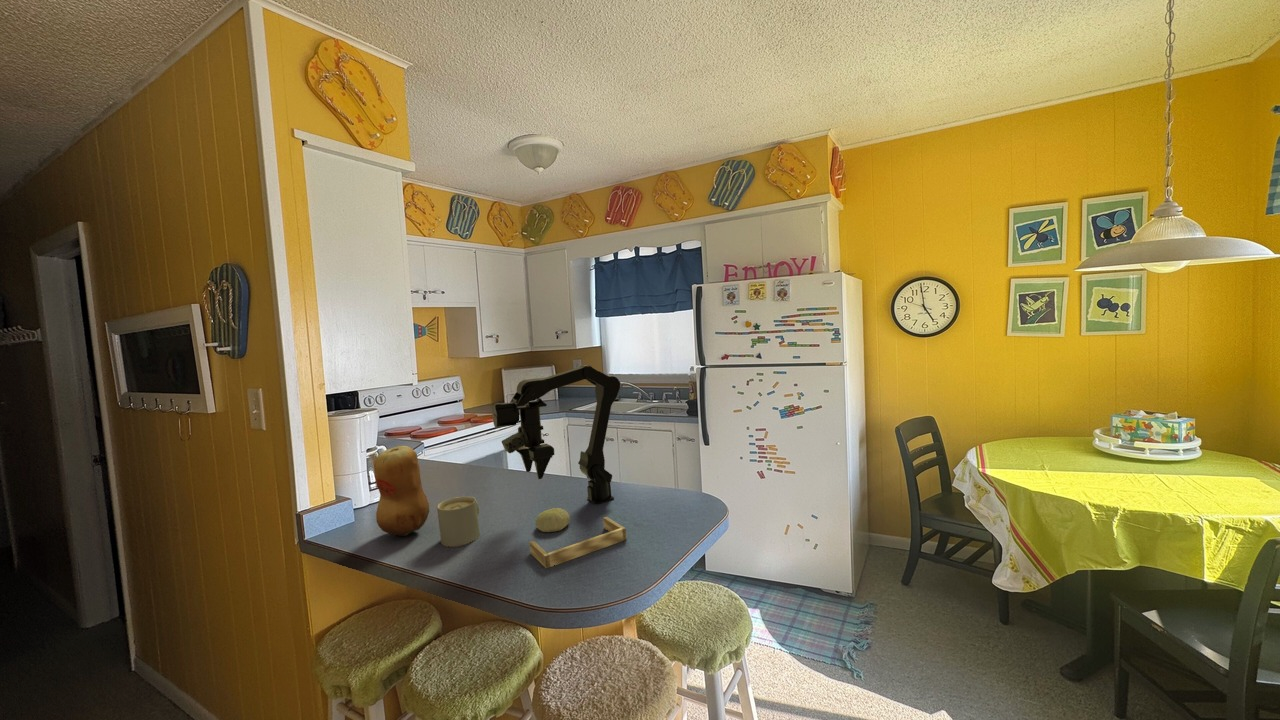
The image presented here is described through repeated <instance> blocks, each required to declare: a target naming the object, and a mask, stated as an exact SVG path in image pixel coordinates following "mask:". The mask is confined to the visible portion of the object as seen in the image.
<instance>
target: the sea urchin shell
mask: <svg viewBox="0 0 1280 720" xmlns="http://www.w3.org/2000/svg"><path fill="white" fill-rule="evenodd" d="M570 518H571V517H570V514H569V512H568V511H566V510H565V509H563V508H560V507H553V508H549V509H547V510H544V511H542V512H541V513H539V514H538V515H537V517H536V519H535V526H536V528H537V529H538V531H540V532H543V533H551V532H554V533H555V532H558V531H562V530H563V529H565V528H566V527H567V526H568V525H569V523H570Z"/></svg>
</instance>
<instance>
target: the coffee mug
mask: <svg viewBox="0 0 1280 720" xmlns="http://www.w3.org/2000/svg"><path fill="white" fill-rule="evenodd" d="M436 508H437V509H436V510H437V519H438V526H439V534H440V535H439V536H440V543H441V545H442V546H444V547H448V546H449V547H451V548H455V547H460V546H464V545H468V544H470V542H471V543H473V542H475V541H476V540H478V539H479V538H480V536H479V535H480V534H481V533H480V525H479V513H480V511H479V510H480V507H479V503H478V501H477V499H476V498H475V497H474V496H469V495H468V496H467V495H465V496H457V497H453V498H449V499H446V500H443V501H441V502H440V503H438V505H437V506H436ZM474 540H475V541H474ZM472 541H473V542H472ZM449 547H448V548H449Z"/></svg>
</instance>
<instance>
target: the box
mask: <svg viewBox="0 0 1280 720" xmlns="http://www.w3.org/2000/svg"><path fill="white" fill-rule="evenodd" d="M602 521H603V529H604V530H606V531H607V530H608V531H607V532H605V533H603V534H599V535H597V536H594V537H591V538H587V539H585V540H582V541H579V542H577V543H573V544H571V545H568V546H567V545H566V546H565V547H561V548H559V549H556V550H553V551H551V552H546V551H545V550H544V549H543V548H542V547H541V545H539V544H537V542H536V541H535V540H531V541H529V550H530V552H529V553H530V555H531V556H533V558H534V559H536V560H537V561H538V562H539V563H540V564H541V565H542V566H543V567H544V568H545V569H546V568H547V569H549V568H552V567H555V566H557V565H560V564H563V563H566V562H568V561H571V560H574V559H576V558H579V557H582V556H585V555H588V554H591V553H594V552H596V551H598V550H602V549H603V548H607V547H609V546H613V545H616V544H618V543H621V542H624V541H626V540H627V528H626V527H624V526H622V524H619V523H618V522H616V521H614V520H612V519H611V518H610V517H608V516H604V517H603V518H602ZM554 565H555V566H554Z"/></svg>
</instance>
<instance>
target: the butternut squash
mask: <svg viewBox="0 0 1280 720" xmlns="http://www.w3.org/2000/svg"><path fill="white" fill-rule="evenodd" d="M373 471H374V478H375V484H376V486H377V488H378V492H379V494H380V495H379V500H378V504H377V507H376V512H375V514H376V515H375V516H376V517H375V518H376V519H375V520H376V524H377V525H378V527H379V529H380V530H381V531H382V532H384V533H386V534H391V535H394V536H397V537H398V536H399V537H404V536H405V537H406V536H408V535H409V534H411V533H412V532H414V531H415V532H416V531H419V530H421V528H422V527H423V526H424V525H425V523H426V521H427V520H428V517H429V513H430V503H429V501H428V498H427V495H426V494H425V492H424V489H423V486H422V485H423V484H422V478H421V469H420V464H419V461H418V453H417V452H416V451H415V450H414V448H412V447H410V446H407V445H398V446H395V447H391V448H389V449H386V450H384V451H382V452H381V453H379V454H378V455H377V456H376V457H375V460H374V462H373Z"/></svg>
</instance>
